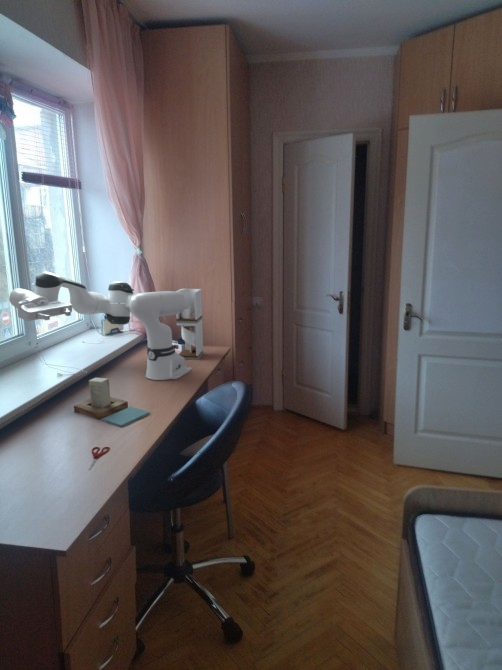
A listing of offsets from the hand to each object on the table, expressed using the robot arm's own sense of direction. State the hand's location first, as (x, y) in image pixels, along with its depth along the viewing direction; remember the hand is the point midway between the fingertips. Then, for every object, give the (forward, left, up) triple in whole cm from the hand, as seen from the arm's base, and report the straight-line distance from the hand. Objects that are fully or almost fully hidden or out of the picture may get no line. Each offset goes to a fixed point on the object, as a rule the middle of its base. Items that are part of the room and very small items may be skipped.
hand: (59, 316), depth 191 cm
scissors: (+28, +51, -35) cm, 68 cm away
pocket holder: (+1, +22, -34) cm, 40 cm away
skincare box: (+1, +22, -34) cm, 41 cm away
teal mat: (+1, +36, -34) cm, 49 cm away
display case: (-74, +4, -34) cm, 81 cm away
